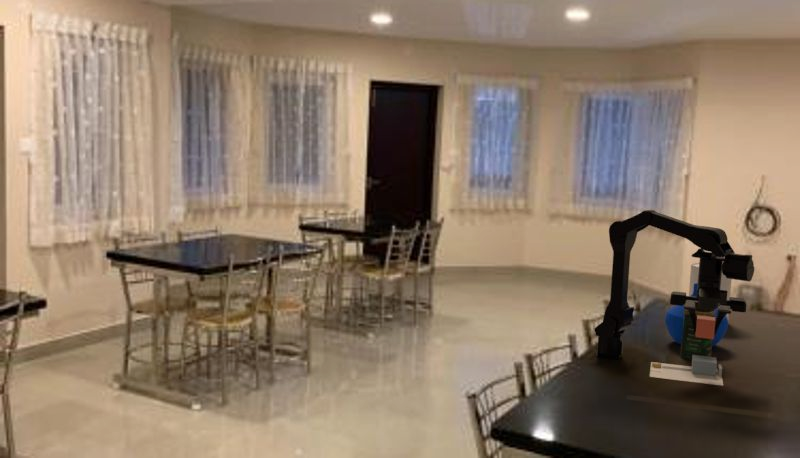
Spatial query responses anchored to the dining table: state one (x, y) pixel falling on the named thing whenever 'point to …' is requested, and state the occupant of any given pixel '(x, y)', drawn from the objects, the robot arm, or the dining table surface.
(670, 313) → the vase
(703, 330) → the cap
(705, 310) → the coffee jar
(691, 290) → the canister
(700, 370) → the breaker toggle
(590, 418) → the dining table surface
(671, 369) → the panel
